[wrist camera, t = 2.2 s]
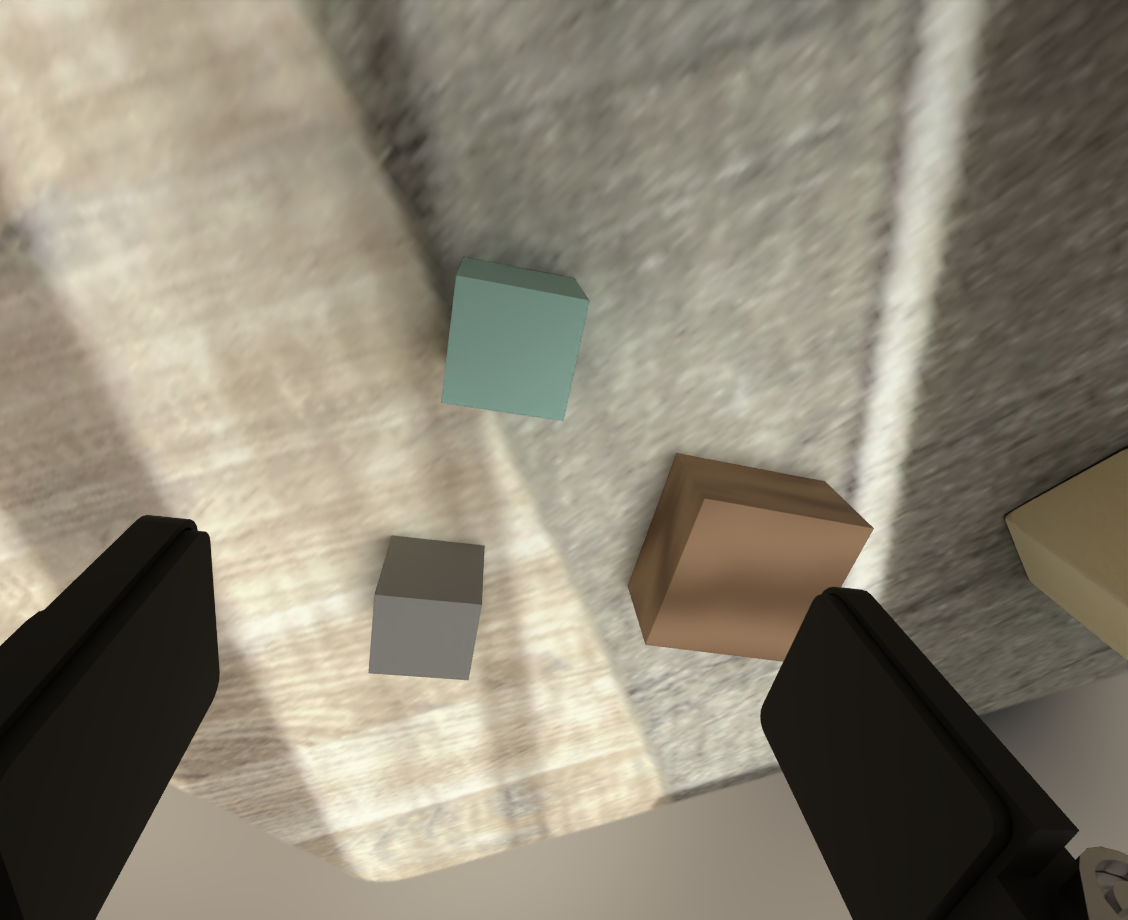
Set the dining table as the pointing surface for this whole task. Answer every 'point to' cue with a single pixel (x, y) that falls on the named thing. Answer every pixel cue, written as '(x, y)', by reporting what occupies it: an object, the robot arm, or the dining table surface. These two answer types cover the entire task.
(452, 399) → the teal cube
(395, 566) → the grey cube
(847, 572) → the walnut block
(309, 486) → the dining table surface
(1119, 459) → the tall cream block
